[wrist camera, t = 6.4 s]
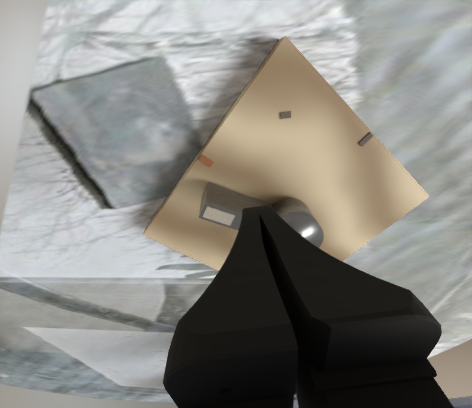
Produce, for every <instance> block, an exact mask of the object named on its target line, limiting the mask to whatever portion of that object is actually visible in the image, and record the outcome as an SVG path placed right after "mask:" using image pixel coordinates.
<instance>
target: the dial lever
mask: <svg viewBox="0 0 472 408" xmlns="http://www.w3.org/2000/svg"><path fill="white" fill-rule="evenodd" d="M264 205H269V206H271V207H272V208H273V209H274V211H275V212H276V213H277V214H278V215H279V216H280V217H281V218H282V219H283V220H284V221H285V222H286V223H287V224H289V225H290V226H291V227H292V228H293V229H294V230H295V231H297V232H298V233H299V234H300V235H301V236H303V237H304V238H305V239H307V240H308V241H309V242H311V243H312V244H314V245H315V246H317V247H318V248H319V247H320V246H321V244H322V242H323V238H324V233H323V230H322V228H321V227H320V225H319V223H318V222H317V220H316V219H315V217H314V216H313V214H312V213H311V211H310V209H309V208H308V206H307V205H306V204H305V203H304V202H303V201H301V200H298V199H294V198H287V199H282V200H279V201H277V202H275V203H274V204H272V205H271V204H268V203H265V202H263V201H260V200H257V199H254V198H252V197H249V196H246V195H244V194H241V193H238V192H235V191H233V190H230V189H227V188H225V187H222V186H219V185H216V184H214V183H211V182H207V185H206V187H205V190H204V192H203V194H202V198H201V205H200V211H199V218H200V219H203V220H206V221H210V222H213V223H216V224H219V225H222V226H225V227H228V228H232V229H235V230H239V227H240V223H241V219H242V210H243V209H244V208H249V207H257V206H264Z"/></svg>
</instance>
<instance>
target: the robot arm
mask: <svg viewBox="0 0 472 408" xmlns="http://www.w3.org/2000/svg"><path fill="white" fill-rule="evenodd" d="M441 332H442V331H441V325H440V324H439V322H438V321H437V320H436V319H435V318H434V317H433V315H432V314H431V313H430V312H429V311H428V309H427V308H426V307H425V306H424V305H423V303H422V302H421V301H420V300H419V299H418V298H417V297H416V296H415V295H414V294H413V293H412V292H411V291H410V290H407V289H405V288H402V287H400V286H397V285H394V284H392V283H389V282H387V281H384V280H381V279H379V278H376V277H374V276H372V275H369V274H367V273H365V272H363V271H361V270H358V269H356V268H354V267H352V266H350V265H348V264H346V263H344V262H342V261H340V260H339V259H337V258H335V257H333V256H331V255H329V254H328V253H326V252H324V251H323V250H321V249H320V248H318V247H317V246H315V245H314V244H312V243H311V242H309V241H308V240H307V239H305V238H304V237H303V236H301V235H300V234H299V233H298V232H297V231H295V230H294V229H293V228H292V227H291V226H290V225H289V224H287V223H286V222H285V221H284V220H283V219H282V218H281V217H280V216H279V215H278V214H277V213H276V212H275V211H274V209H273V208H272V207H271V206H269V205H264V206H257V207H249V208H244V209H243V210H242V219H241V223H240V227H239V230H238V233H237V236H236V239H235V241H234V244H233V246H232V248H231V250H230V252H229V254H228V256H227V258H226V260H225V262H224V264H223V265H222V267H221V269H220V270H219V272H218V274H217V275H216V277H215V278H214V280H213V281H212V282H211V284H210V285H209V286H208V288H207V289H206V290H205V292H204V293H203V294H202V295H201V297H200V298H199V299H198V300H197V302H196V303H195V304H194V305H193V306H192V307H191V308H190V309H189V310H188V312H187V313H186V314H185V315H184V316H183V317H182V318H181V319H180V320H179V322H178V324H177V327H176V330H175V333H174V335H173V339H172V342H171V345H170V349H169V352H168V357H167V363H166V368H165V374H164V380H163V384H164V387H165V389H166V391H167V392H168V394H169V395H170V396H171V398H172V399H173V401H174V402H175V403H176V405H177V406H178V408H472V396H468V397H459V398H451V399H448V398H447V397H446V395H445V394H444V392H443V391H442V390H441V388H440V386H439V385H438V384H437V382H436V381H435V379H434V378H433V377H436V376H437V374H436V371H435V369H434V368H433V367H432V365H431V364H430V362H429V361H428V360H427V357H428V356H429V354H430V353H431V351H432V350H433V348H434V347H435V345H436V344H437V343H438V341H439V339H440V336H441Z"/></svg>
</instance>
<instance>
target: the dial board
mask: <svg viewBox="0 0 472 408" xmlns="http://www.w3.org/2000/svg"><path fill="white" fill-rule="evenodd" d="M207 182H211V183H214V184H216V185H219V186H222V187H225V188H227V189H230V190H233V191H235V192H238V193H241V194H244V195H246V196H249V197H252V198H254V199H257V200H260V201H263V202H265V203H268V204H271V205H272V204H274V203H275V202H277V201H279V200H282V199H287V198H294V199H298V200H301V201H303V202H304V203H305V204H306V205H307V206H308V208H309V209H310V211H311V213H312V214H313V216H314V217H315V219H316V220H317V222H318V223H319V225H320V227H321V228H322V230H323V233H324V238H323V242H322V244H321V246H320V247H319V248H320V249H321V250H323V251H324V252H326V253H328V254H329V255H331V256H333V257H335V258H337V259H339V260H340V261H343V260H345V259H346V258H347V257H349V256H350V255H351V254H353V253H354V252H355V251H357V250H358V249H359V248H361V247H362V246H363V245H365V244H366V243H368V242H369V241H370V240H372V239H373V238H374V237H376V236H377V235H378V234H380V233H381V232H382V231H384V230H385V229H386V228H388V227H389V226H391V225H392V224H393V223H395V222H396V221H397V220H399V219H400V218H401V217H403V216H404V215H405V214H407V213H408V212H409V211H411V210H412V209H413V208H415V207H416V206H418V205H419V204H420V203H422V202H423V201H424V200H426V199H427V198H428V197H430V196H429V195H428V194H427V193H426V192H425V191H424V189H423V188H422V187H421V186H420V185H419V184H418V183H417V182H416V181H415V179H414V178H413V177H412V176H411V175H410V174H409V173H408V172H407V171H406V169H405V168H404V167H403V166H402V165H401V164H400V163H399V162H398V161H397V159H396V158H395V157H394V156H393V155H392V154H391V153H390V152H389V150H388V149H387V148H386V147H385V146H384V145H383V144H382V143H381V142H380V140H379V139H378V138H377V137H376V136H375V135H374V134H373V133H372V132H371V130H370V129H369V128H368V127H367V126H366V125H365V124H364V123H363V122H362V120H361V119H360V118H359V117H358V116H357V115H356V114H355V113H354V112H353V110H352V109H351V108H350V107H349V106H348V105H347V104H346V103H345V102H344V100H343V99H342V98H341V97H340V96H339V95H338V94H337V93H336V92H335V90H334V89H333V88H332V87H331V86H330V85H329V84H328V83H327V82H326V80H325V79H324V78H323V77H322V76H321V75H320V74H319V73H318V72H317V70H316V69H315V68H314V67H313V66H312V65H311V64H310V63H309V62H308V60H307V59H306V58H305V57H304V56H303V55H302V54H301V53H300V51H299V50H298V49H297V48H296V47H295V46H294V45H293V44H292V43H291V41H290V40H289V39H288V38H287V37H286V36H285V37H283V38H281V39H280V40H279V41H278V42H277V44H276V45H275V47H274V48H273V49H272V51H271V52H270V54H269V55H268V56H267V58H266V59H265V61H264V62H263V63H262V65H261V66H260V68H259V69H258V70H257V72H256V73H255V75H254V76H253V77H252V79H251V80H250V82H249V83H248V84H247V86H246V87H245V89H244V90H243V91H242V93H241V94H240V96H239V97H238V99H237V100H236V101H235V103H234V104H233V106H232V107H231V108H230V110H229V111H228V113H227V114H226V115H225V117H224V118H223V120H222V121H221V122H220V124H219V125H218V127H217V128H216V129H215V131H214V132H213V134H212V135H211V136H210V138H209V139H208V141H207V142H206V143H205V145H204V146H203V148H202V149H201V150H200V152H199V153H198V155H197V156H196V157H195V159H194V160H193V162H192V163H191V164H190V166H189V167H188V169H187V170H186V172H185V173H184V174H183V176H182V177H181V179H180V180H179V181H178V183H177V184H176V186H175V187H174V188H173V190H172V191H171V193H170V194H169V195H168V197H167V198H166V200H165V201H164V202H163V204H162V205H161V207H160V208H159V209H158V211H157V212H156V214H155V215H154V216H153V218H152V219H151V221H150V222H149V223H148V225H147V227H146V229H145V232H144V234H143V235H145V236H147V237H149V238H151V239H153V240H155V241H157V242H160V243H162V244H164V245H166V246H168V247H170V248H172V249H174V250H176V251H178V252H180V253H182V254H184V255H187V256H189V257H191V258H193V259H195V260H197V261H199V262H201V263H203V264H205V265H207V266H209V267H211V268H213V269H216V270H218V271H219V270H220V269H221V267H222V265H223V264H224V262H225V260H226V258H227V256H228V254H229V252H230V250H231V248H232V246H233V244H234V241H235V239H236V236H237V233H238V230H235V229H232V228H228V227H225V226H222V225H219V224H216V223H213V222H210V221H206V220H203V219H200V218H199V211H200V205H201V198H202V194H203V192H204V190H205V187H206V185H207Z"/></svg>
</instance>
